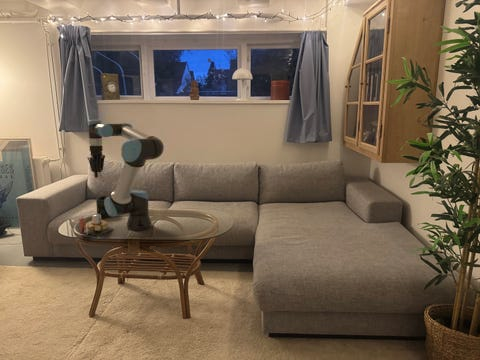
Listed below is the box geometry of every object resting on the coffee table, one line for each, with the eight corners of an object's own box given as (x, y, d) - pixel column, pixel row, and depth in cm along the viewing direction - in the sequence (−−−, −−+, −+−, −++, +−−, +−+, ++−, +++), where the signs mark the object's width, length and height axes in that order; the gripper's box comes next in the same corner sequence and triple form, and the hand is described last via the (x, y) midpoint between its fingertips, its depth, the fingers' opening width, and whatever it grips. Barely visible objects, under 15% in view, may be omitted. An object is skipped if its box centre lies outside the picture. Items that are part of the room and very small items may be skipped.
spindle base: (113, 229, 227) (112, 213, 225) (95, 237, 213) (94, 220, 211) (96, 226, 231) (96, 211, 229) (78, 233, 218) (77, 217, 216)
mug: (115, 212, 261) (115, 196, 258) (106, 219, 246) (106, 201, 244) (100, 212, 261) (100, 195, 259) (91, 218, 247) (90, 201, 245)
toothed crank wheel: (101, 224, 231) (101, 211, 230) (111, 229, 223) (111, 215, 221) (75, 230, 220) (74, 216, 218) (85, 235, 211) (84, 221, 210)
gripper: (98, 143, 237) (100, 179, 242) (83, 145, 225) (85, 183, 230) (108, 144, 234) (109, 181, 239) (92, 146, 223) (94, 184, 227)
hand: (97, 182), depth 235 cm, fingers closed
